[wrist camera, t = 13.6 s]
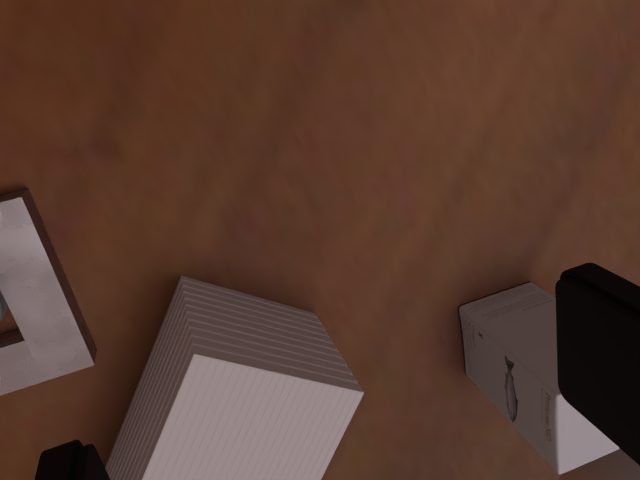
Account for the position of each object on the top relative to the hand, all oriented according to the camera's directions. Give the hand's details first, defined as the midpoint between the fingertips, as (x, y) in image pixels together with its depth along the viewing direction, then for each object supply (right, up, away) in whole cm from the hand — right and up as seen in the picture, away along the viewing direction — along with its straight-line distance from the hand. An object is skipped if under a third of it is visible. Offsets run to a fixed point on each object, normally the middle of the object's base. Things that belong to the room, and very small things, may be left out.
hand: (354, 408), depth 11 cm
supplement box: (+15, -4, +38) cm, 41 cm away
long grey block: (-12, -15, +34) cm, 39 cm away
